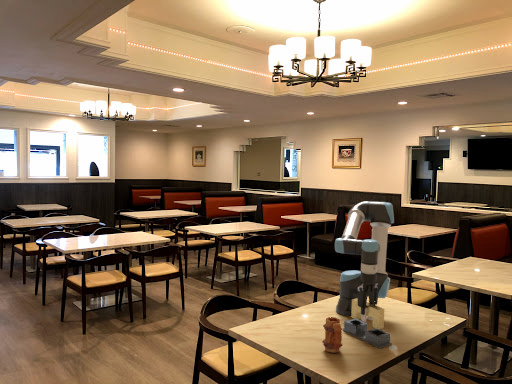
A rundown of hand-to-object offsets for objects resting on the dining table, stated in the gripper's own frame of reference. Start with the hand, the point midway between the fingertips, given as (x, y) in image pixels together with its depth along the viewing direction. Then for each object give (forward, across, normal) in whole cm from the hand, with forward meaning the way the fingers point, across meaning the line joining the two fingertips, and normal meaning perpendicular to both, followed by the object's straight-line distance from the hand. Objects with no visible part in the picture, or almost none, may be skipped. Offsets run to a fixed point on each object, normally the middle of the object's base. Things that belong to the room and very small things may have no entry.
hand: (366, 320), depth 199 cm
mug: (+9, -26, -5) cm, 28 cm away
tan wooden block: (+1, 0, 0) cm, 1 cm away
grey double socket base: (+9, 0, 0) cm, 9 cm away
